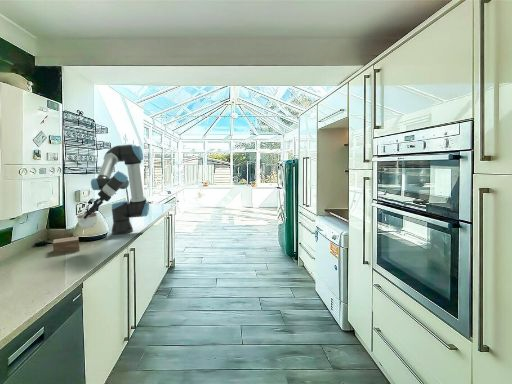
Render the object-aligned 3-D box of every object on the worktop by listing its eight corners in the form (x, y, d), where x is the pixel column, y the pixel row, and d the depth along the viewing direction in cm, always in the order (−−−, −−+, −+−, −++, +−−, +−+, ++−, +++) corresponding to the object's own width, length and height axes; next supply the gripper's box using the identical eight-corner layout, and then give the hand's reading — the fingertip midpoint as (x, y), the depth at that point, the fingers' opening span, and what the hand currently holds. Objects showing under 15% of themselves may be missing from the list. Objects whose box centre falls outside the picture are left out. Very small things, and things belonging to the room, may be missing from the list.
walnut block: (54, 250, 247) (53, 239, 247) (79, 247, 253) (78, 236, 253) (53, 254, 235) (52, 243, 234) (79, 251, 240) (78, 239, 240)
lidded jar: (84, 229, 233) (82, 213, 232) (75, 228, 239) (73, 213, 238) (101, 226, 241) (99, 210, 241) (91, 225, 248) (89, 210, 247)
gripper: (110, 198, 231) (84, 227, 229) (113, 195, 254) (90, 222, 251) (99, 190, 230) (73, 219, 227) (103, 187, 252) (80, 214, 250)
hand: (82, 221), depth 239 cm, fingers closed on lidded jar, 11 cm apart
